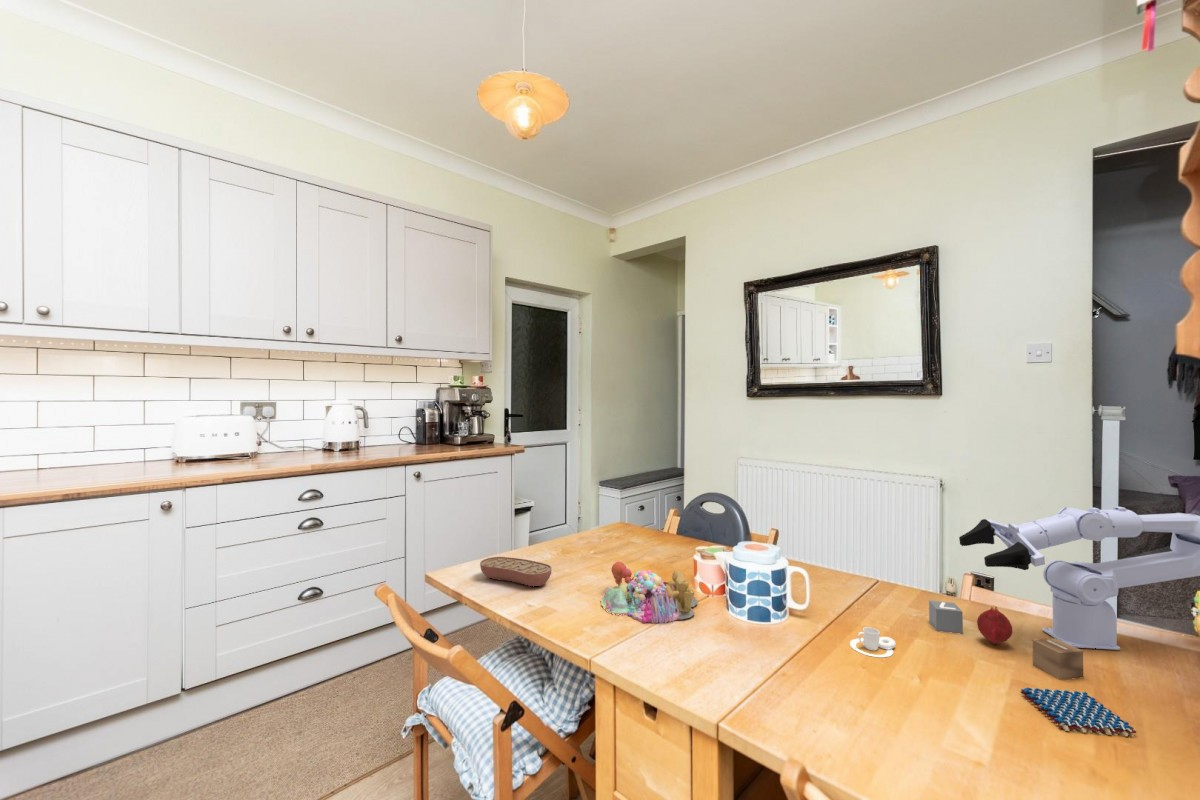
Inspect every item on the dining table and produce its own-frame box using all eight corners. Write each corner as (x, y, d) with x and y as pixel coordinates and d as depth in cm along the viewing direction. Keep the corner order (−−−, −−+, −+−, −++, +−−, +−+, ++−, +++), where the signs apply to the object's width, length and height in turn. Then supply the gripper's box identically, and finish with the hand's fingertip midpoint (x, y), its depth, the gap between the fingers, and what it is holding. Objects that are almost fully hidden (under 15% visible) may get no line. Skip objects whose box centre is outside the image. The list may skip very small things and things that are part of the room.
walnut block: (1055, 664, 98) (1055, 637, 98) (1083, 678, 93) (1083, 650, 93) (1032, 665, 97) (1032, 639, 97) (1059, 680, 92) (1059, 652, 92)
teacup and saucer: (892, 644, 106) (892, 625, 106) (902, 663, 99) (901, 642, 99) (847, 638, 109) (847, 619, 109) (852, 656, 102) (852, 636, 102)
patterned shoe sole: (473, 581, 145) (473, 563, 145) (495, 570, 154) (495, 554, 154) (539, 594, 135) (539, 575, 135) (559, 582, 144) (559, 564, 144)
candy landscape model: (691, 588, 139) (691, 554, 139) (707, 626, 115) (706, 586, 115) (601, 587, 140) (601, 554, 140) (598, 625, 116) (598, 586, 116)
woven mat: (1141, 742, 76) (1141, 729, 76) (1062, 735, 78) (1062, 722, 78) (1086, 701, 86) (1086, 689, 86) (1017, 695, 88) (1017, 684, 88)
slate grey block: (954, 624, 115) (954, 602, 115) (962, 634, 110) (962, 611, 110) (929, 621, 116) (929, 599, 116) (936, 631, 112) (936, 608, 112)
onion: (1018, 652, 102) (1018, 612, 102) (986, 649, 103) (986, 610, 103) (1002, 638, 108) (1001, 601, 108) (971, 636, 109) (971, 599, 109)
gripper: (1009, 502, 113) (948, 518, 114) (1066, 538, 99) (996, 556, 101) (1011, 528, 115) (951, 544, 116) (1068, 567, 101) (999, 584, 103)
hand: (972, 551), depth 109 cm, fingers open, 7 cm apart
